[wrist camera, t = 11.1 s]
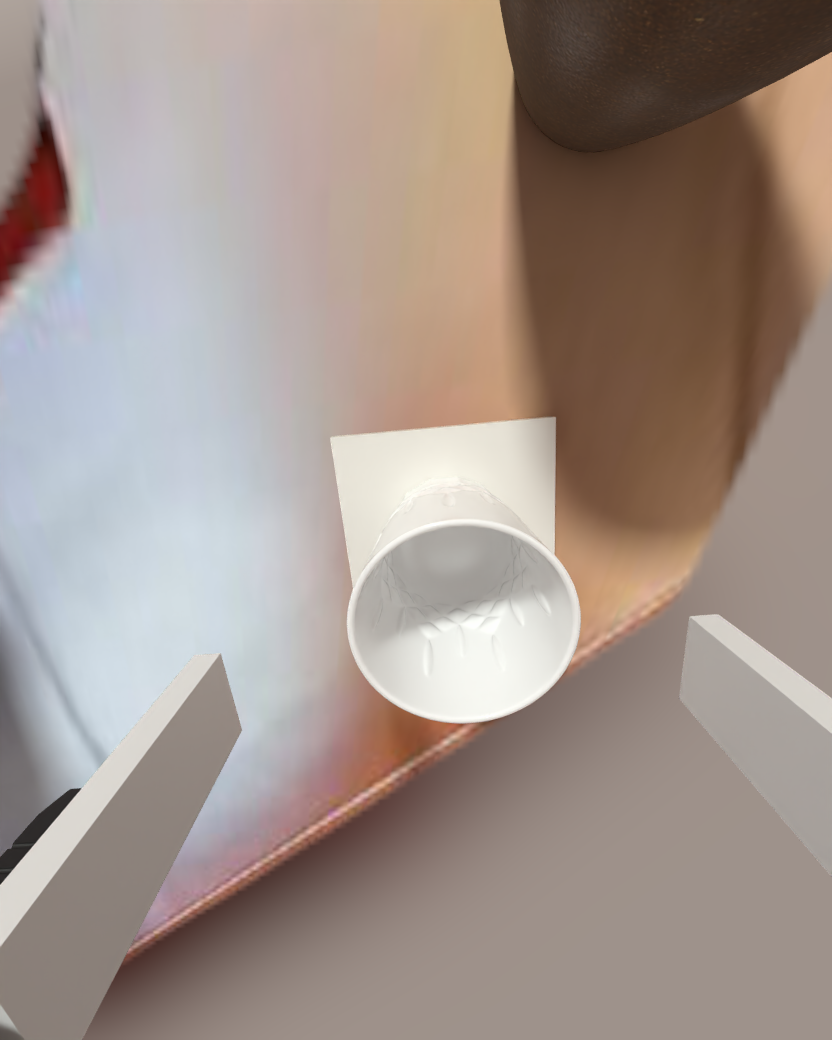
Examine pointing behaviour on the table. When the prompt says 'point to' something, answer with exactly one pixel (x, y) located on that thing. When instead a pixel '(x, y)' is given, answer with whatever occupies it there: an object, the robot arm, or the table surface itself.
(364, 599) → the white cup
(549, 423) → the tile
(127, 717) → the table surface
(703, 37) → the plant pot
